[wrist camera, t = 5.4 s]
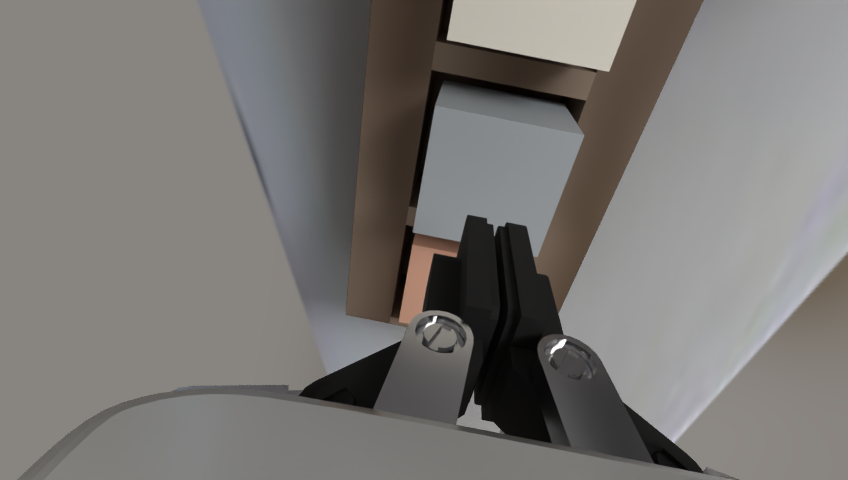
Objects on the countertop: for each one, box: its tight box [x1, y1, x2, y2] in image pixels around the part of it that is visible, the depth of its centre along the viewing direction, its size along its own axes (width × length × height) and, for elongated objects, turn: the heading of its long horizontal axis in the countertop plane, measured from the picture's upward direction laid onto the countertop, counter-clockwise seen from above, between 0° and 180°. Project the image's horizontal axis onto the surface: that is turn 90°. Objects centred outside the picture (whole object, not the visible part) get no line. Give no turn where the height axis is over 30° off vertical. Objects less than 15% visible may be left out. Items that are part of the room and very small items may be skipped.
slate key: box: [413, 80, 584, 257], centre depth 17 cm, size 5×5×4 cm
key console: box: [346, 0, 703, 327], centre depth 20 cm, size 11×21×5 cm, turn 171°
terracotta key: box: [399, 233, 460, 324], centre depth 22 cm, size 5×5×4 cm
